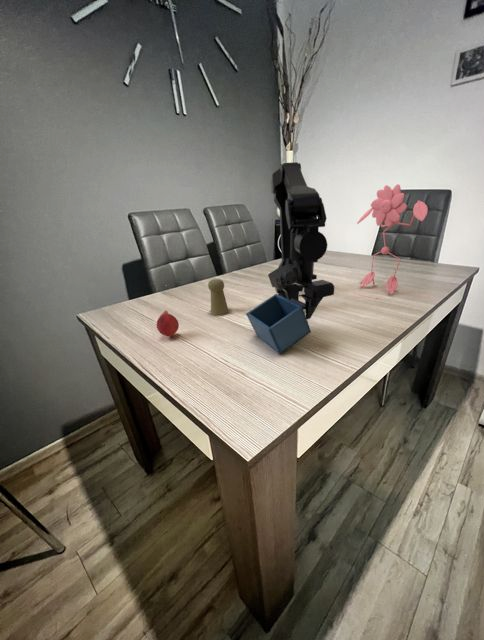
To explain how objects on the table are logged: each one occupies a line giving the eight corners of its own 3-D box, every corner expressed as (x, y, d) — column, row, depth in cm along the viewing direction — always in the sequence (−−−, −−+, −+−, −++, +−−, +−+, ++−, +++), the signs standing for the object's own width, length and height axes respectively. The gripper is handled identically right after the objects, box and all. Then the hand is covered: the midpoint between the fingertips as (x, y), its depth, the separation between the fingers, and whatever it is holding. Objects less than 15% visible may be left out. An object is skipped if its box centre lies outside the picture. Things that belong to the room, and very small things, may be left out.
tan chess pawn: (225, 315, 91) (221, 282, 85) (208, 314, 92) (203, 282, 87) (230, 308, 96) (227, 277, 90) (214, 308, 97) (210, 277, 92)
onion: (169, 343, 75) (162, 316, 71) (155, 338, 78) (148, 312, 74) (185, 334, 79) (179, 308, 75) (171, 331, 82) (165, 305, 78)
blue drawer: (293, 310, 79) (285, 287, 74) (320, 324, 69) (312, 299, 65) (257, 336, 76) (245, 313, 71) (280, 354, 67) (268, 329, 62)
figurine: (358, 281, 117) (370, 186, 100) (417, 295, 98) (444, 181, 80) (333, 288, 110) (341, 188, 92) (390, 305, 91) (414, 182, 73)
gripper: (254, 251, 69) (257, 309, 77) (296, 263, 54) (294, 334, 62) (291, 247, 74) (290, 302, 81) (339, 257, 59) (332, 323, 66)
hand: (300, 314), depth 72 cm, fingers closed on blue drawer, 7 cm apart
